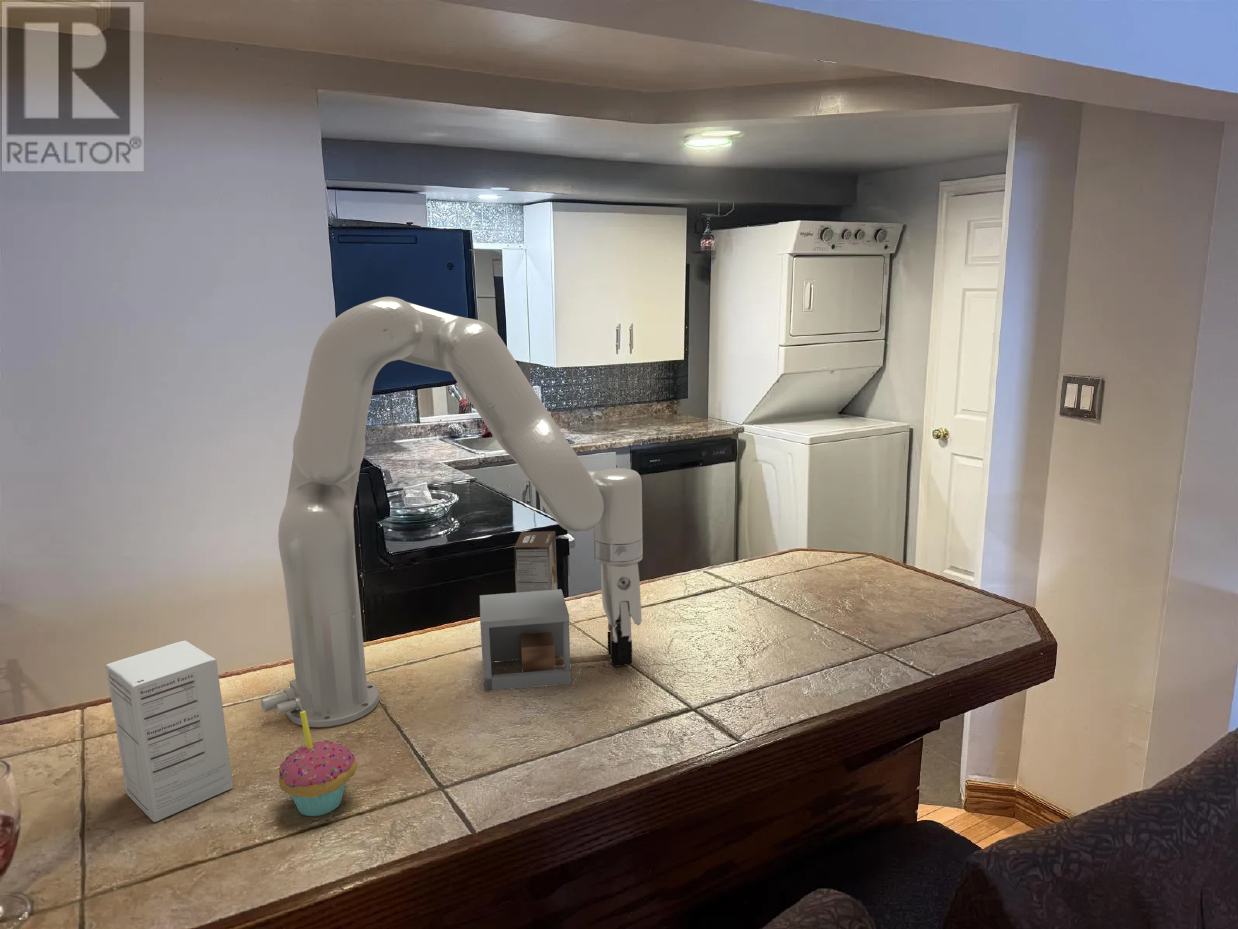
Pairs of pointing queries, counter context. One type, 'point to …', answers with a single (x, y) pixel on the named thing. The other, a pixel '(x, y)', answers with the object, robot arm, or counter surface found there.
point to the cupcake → (316, 773)
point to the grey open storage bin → (518, 617)
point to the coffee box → (535, 562)
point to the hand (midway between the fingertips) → (619, 658)
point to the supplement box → (170, 728)
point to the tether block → (549, 653)
